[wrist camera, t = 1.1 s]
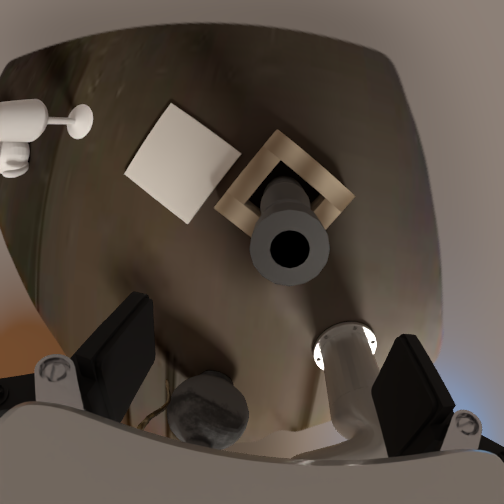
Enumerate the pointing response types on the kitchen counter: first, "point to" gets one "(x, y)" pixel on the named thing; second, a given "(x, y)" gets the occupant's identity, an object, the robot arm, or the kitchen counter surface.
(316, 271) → the candle holder
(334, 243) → the kitchen counter surface
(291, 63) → the kitchen counter surface
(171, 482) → the robot arm
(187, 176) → the ceramic tile
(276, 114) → the kitchen counter surface
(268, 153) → the socket block
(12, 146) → the cat figurine
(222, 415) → the pitcher
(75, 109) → the champagne flute
